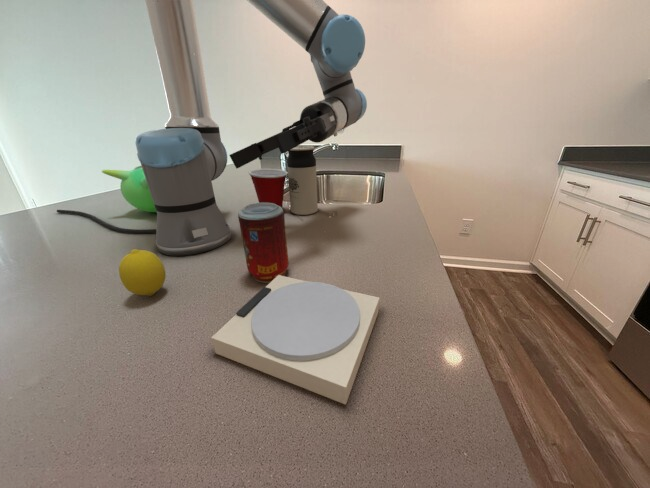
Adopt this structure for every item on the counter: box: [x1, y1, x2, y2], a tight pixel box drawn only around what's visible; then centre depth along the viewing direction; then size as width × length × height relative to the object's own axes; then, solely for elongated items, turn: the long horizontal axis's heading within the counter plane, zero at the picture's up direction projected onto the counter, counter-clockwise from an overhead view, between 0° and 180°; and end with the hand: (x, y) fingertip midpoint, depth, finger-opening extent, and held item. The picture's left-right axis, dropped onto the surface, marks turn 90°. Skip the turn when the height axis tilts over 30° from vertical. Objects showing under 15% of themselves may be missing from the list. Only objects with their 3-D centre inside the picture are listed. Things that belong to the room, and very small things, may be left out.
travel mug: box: [286, 145, 319, 216], centre depth 73 cm, size 8×8×18 cm
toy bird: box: [101, 165, 157, 213], centre depth 77 cm, size 18×17×15 cm
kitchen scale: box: [210, 275, 380, 406], centre depth 32 cm, size 16×14×3 cm
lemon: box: [118, 248, 167, 297], centre depth 39 cm, size 6×6×8 cm
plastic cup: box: [248, 168, 288, 209], centre depth 75 cm, size 11×11×12 cm
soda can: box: [237, 202, 290, 284], centre depth 43 cm, size 7×7×12 cm
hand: (254, 154), depth 44 cm, fingers open, 13 cm apart
